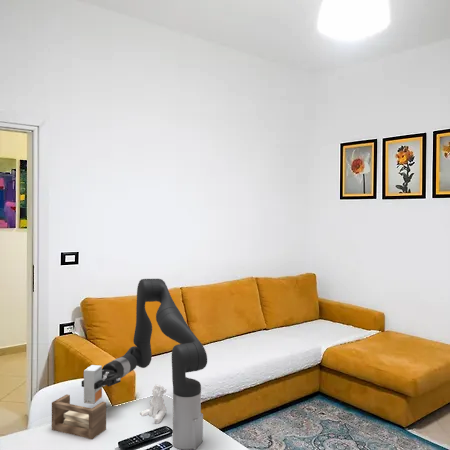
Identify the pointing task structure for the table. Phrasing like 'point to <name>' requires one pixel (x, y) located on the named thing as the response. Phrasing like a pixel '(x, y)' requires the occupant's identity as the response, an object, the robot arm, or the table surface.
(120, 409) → the table surface
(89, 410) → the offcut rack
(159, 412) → the sitting furry creature
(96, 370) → the skincare box
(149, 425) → the table surface
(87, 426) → the offcut stack
